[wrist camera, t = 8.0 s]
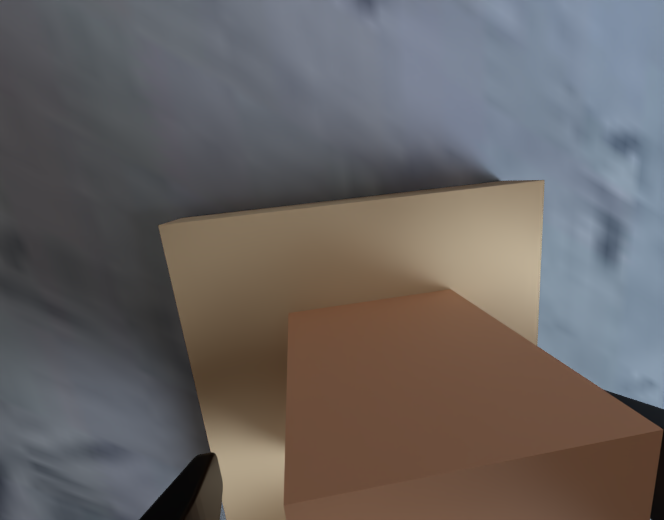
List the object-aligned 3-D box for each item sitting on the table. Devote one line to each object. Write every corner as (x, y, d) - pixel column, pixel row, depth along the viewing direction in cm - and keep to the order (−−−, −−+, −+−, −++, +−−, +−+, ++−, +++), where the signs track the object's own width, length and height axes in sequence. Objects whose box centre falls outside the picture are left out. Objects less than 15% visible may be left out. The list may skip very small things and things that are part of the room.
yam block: (453, 426, 11) (625, 681, 6) (309, 453, 11) (330, 762, 5) (450, 289, 10) (663, 429, 4) (288, 313, 10) (283, 505, 4)
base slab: (498, 441, 14) (531, 481, 12) (240, 490, 13) (232, 542, 11) (502, 180, 12) (544, 180, 10) (182, 217, 11) (158, 225, 9)
